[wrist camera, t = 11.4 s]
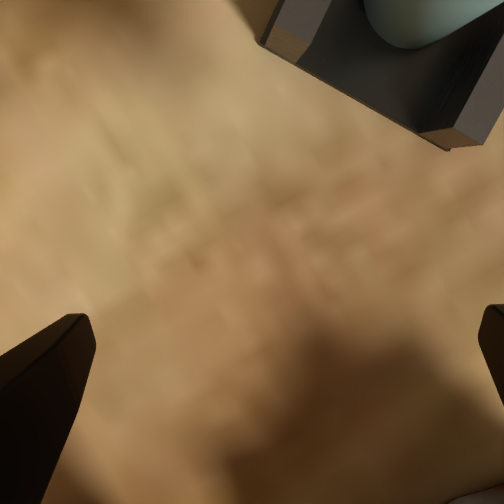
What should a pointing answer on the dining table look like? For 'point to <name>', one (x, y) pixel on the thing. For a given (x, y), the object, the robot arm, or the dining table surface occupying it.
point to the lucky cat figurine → (483, 497)
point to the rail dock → (399, 68)
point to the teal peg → (422, 19)
